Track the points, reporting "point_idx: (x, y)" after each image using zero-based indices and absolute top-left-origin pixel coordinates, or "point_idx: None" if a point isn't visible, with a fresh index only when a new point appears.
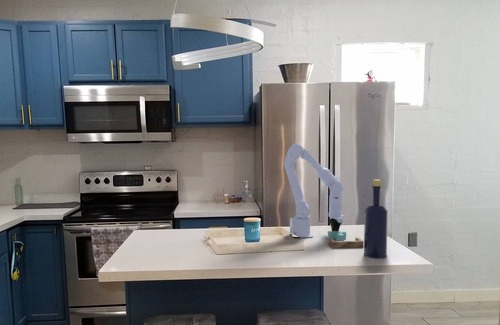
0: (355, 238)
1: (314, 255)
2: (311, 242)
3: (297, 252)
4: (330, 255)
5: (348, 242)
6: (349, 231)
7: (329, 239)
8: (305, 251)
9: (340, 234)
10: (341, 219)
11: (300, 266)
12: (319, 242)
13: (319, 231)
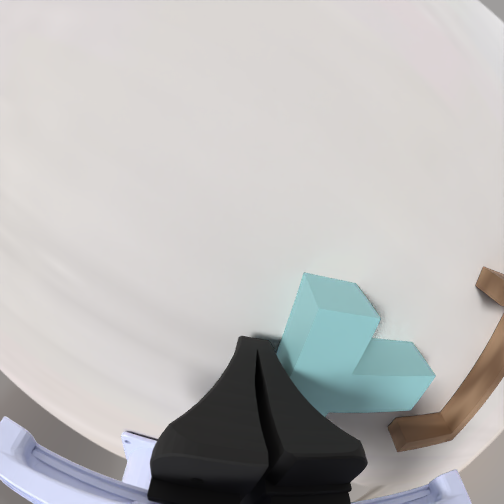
0: (498, 302)
1: (437, 464)
2: None
3: (385, 492)
4: (471, 433)
5: (498, 377)
6: (100, 84)
7: (404, 447)
8: (394, 482)
9: (405, 395)
10: (458, 502)
11: None
12: None
13: (68, 354)
